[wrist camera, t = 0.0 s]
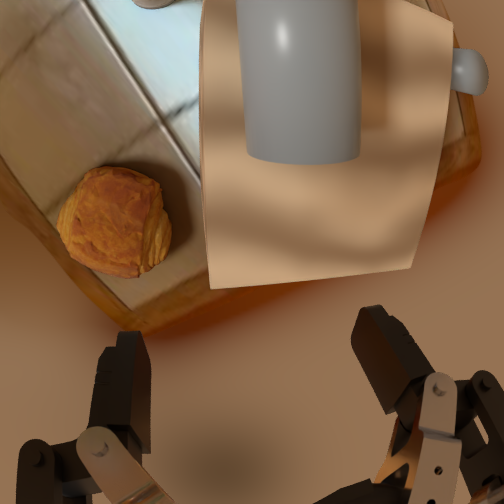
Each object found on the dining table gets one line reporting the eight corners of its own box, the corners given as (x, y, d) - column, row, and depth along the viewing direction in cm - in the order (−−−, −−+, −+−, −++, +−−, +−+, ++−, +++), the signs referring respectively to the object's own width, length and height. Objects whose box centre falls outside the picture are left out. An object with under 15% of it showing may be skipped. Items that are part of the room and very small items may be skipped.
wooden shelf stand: (200, 23, 27) (208, -36, 10) (340, 35, 29) (453, 23, 13) (201, 190, 38) (210, 289, 21) (327, 186, 40) (410, 268, 24)
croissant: (152, 265, 45) (155, 302, 39) (55, 238, 37) (42, 274, 31) (191, 181, 39) (200, 211, 33) (79, 143, 31) (63, 166, 25)
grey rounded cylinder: (399, 42, 30) (461, 42, 20) (428, 52, 31) (489, 58, 21) (397, 78, 33) (458, 88, 23) (426, 86, 34) (486, 100, 24)
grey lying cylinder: (243, 140, 17) (229, -49, 10) (337, 136, 17) (327, -45, 10) (252, 169, 12) (232, -94, 5) (379, 163, 12) (366, -80, 6)
